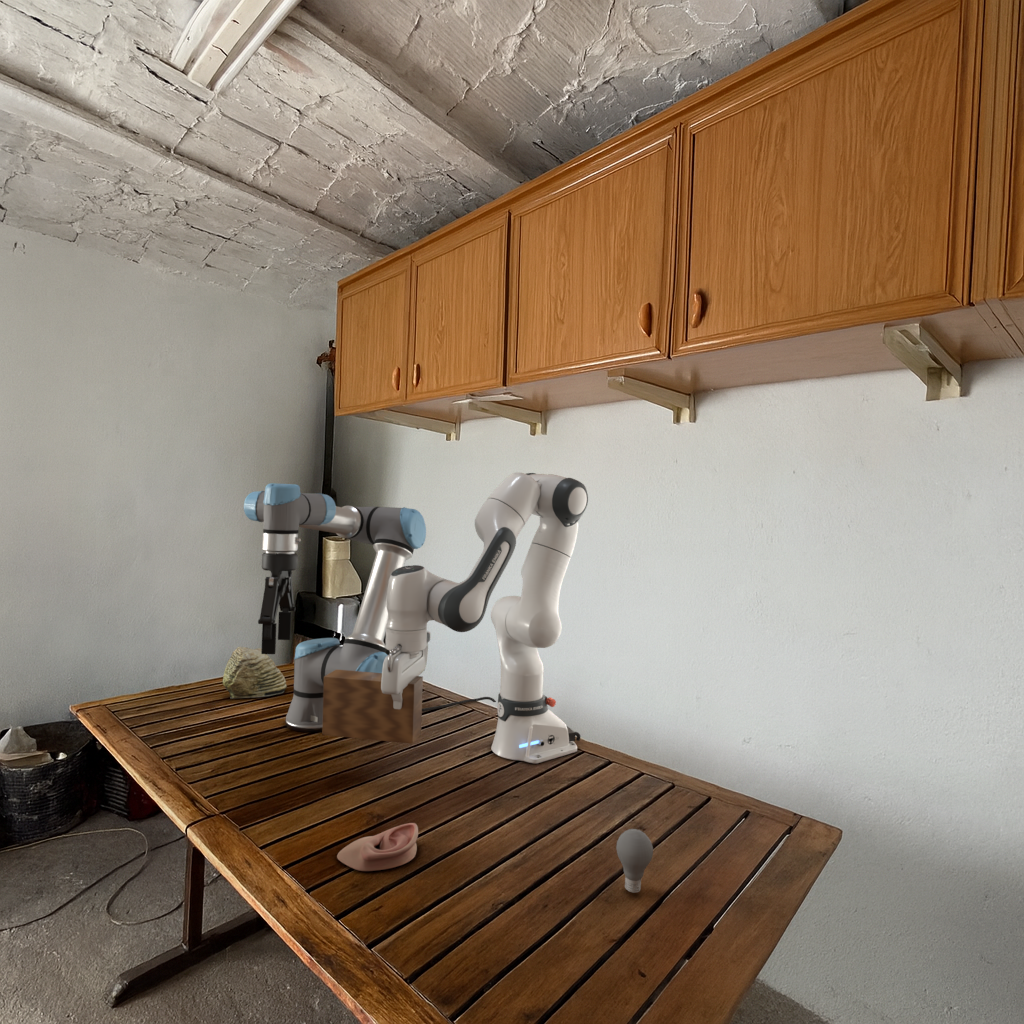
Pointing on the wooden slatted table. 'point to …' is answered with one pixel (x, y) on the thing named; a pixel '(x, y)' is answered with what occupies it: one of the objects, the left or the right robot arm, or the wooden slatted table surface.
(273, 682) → the fossil
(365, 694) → the box
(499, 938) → the wooden slatted table surface
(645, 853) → the light bulb
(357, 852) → the anatomical model
